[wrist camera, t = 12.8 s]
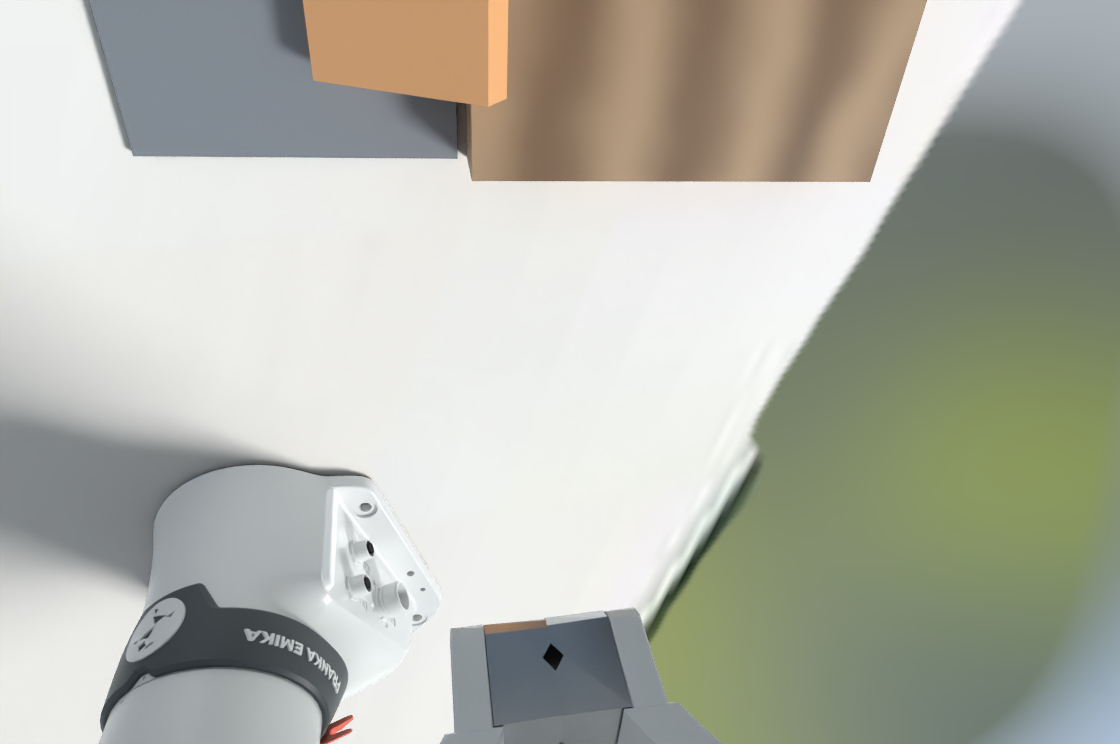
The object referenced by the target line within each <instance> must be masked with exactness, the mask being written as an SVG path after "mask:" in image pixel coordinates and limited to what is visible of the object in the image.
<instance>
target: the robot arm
mask: <svg viewBox="0 0 1120 744" xmlns="http://www.w3.org/2000/svg"><path fill="white" fill-rule="evenodd" d="M362 503H369V504H362ZM442 596H443V593H442V591H441V589H440V587H439V585H438V584H437V582H436V580H435V579H434V577H433V575H432V574H431V572H430V571H429V569H428V567H427V566H426V564H425V563H424V561H423V559H422V558H421V556H420V554H419V553H418V551H417V550H416V548H415V546H414V545H413V543H412V542H411V540H410V538H409V537H408V535H407V533H406V532H405V530H404V529H403V527H402V525H401V524H400V522H399V521H398V519H397V517H396V516H395V514H394V512H393V511H392V509H391V508H390V506H389V504H388V503H387V501H386V500H385V498H384V496H383V495H382V493H381V492H380V490H379V488H378V487H377V485H376V484H375V483H374V482H373V481H372V480H371V479H369V478H366V477H362V476H320V475H315V474H311V473H307V472H303V471H299V470H295V469H291V468H286V467H279V466H270V465H244V466H235V467H229V468H224V469H219V470H215V471H212V472H209V473H206V474H203V475H201V476H198V477H196V478H194V479H192V480H190V481H188V482H187V483H185V484H183V485H182V486H180V487H179V488H178V489H176V490H175V491H174V492H173V493H172V494H171V495H170V496H169V497H168V498H167V499H166V500H165V501H164V503H163V504H162V505H161V507H160V509H159V511H158V513H157V515H156V518H155V521H154V527H153V560H152V569H151V575H150V582H149V587H148V592H147V597H146V602H145V607H144V611H143V614H142V616H141V618H140V620H139V622H138V624H137V625H136V627H135V629H134V631H133V633H132V635H131V637H130V639H129V641H128V643H127V645H126V647H125V650H124V652H123V654H122V657H121V659H120V662H119V665H118V667H117V670H116V673H115V675H114V678H113V681H112V684H111V686H110V689H109V692H108V695H107V698H106V701H105V704H104V707H103V710H102V713H101V719H100V724H101V730H102V732H103V733H102V736H101V739H100V741H99V744H329V743H331V742H333V741H335V740H337V739H339V738H341V737H343V736H345V735H347V734H349V733H351V732H352V729H347V730H344V731H341V732H338V733H336V732H337V731H339V730H341V729H342V728H344V727H345V726H346V725H347V724H348V723H349V722H350V721H352V720H353V716H352V715H350V716H347V717H345V718H342V719H340V720H338V721H336V722H334V723H332V724H330V722H331V720H332V718H333V716H334V714H335V712H336V710H337V708H338V706H339V704H340V702H341V701H343V700H345V699H347V698H348V697H350V696H352V695H354V694H356V693H358V692H360V691H362V690H364V689H366V688H368V687H369V686H371V685H373V684H375V683H376V682H378V681H379V680H381V679H382V678H384V677H385V676H387V675H388V674H389V673H391V672H392V671H393V670H394V669H395V668H396V667H397V666H398V665H399V664H400V663H401V662H402V660H403V659H404V657H405V655H406V654H407V652H408V649H409V646H410V642H411V635H412V633H413V632H414V631H416V630H417V629H418V628H420V627H421V626H422V625H424V624H425V623H426V622H427V621H428V620H429V619H430V618H431V617H432V616H433V615H434V614H435V613H436V612H437V610H438V609H439V607H440V606H441V604H442ZM450 649H451V669H452V690H453V710H454V731H455V733H451V734H446V735H444V737H443V739H442V741H441V743H440V744H721V743H720V742H719V741H718V740H717V739H716V738H715V737H714V736H713V735H712V734H711V733H710V732H708V730H707V729H705V728H704V727H703V726H702V725H701V724H700V723H699V722H698V721H697V720H696V719H695V718H694V717H693V716H692V715H691V714H689V713H688V712H687V711H686V710H685V709H684V708H683V707H682V706H681V705H680V704H679V703H678V702H673V703H668V701H667V697H666V694H665V691H664V688H663V685H662V682H661V679H660V676H659V673H658V670H657V667H656V663H655V660H654V657H653V654H652V651H651V648H650V645H649V642H648V639H647V636H646V633H645V630H644V626H643V623H642V620H641V617H640V614H639V613H638V612H637V610H636V609H635V608H626V609H619V610H611V611H595V612H587V613H580V614H572V615H565V616H557V617H549V618H544V619H540V620H530V621H520V622H510V623H500V624H490V625H483V626H482V625H477V626H468V627H460V628H451V630H450ZM329 724H330V725H329Z"/></svg>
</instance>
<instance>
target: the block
mask: <svg viewBox="0 0 1120 744" xmlns="http://www.w3.org/2000/svg"><path fill="white" fill-rule="evenodd" d="M303 6H304V14H305V22H306V29H307V37H308V45H309V52H310V60H311V67H312V75H313V81H319V82H326V83H332V84H339V85H346V86H352V87H359V88H366V89H372V90H379V91H386V92H392V93H399V94H406V95H412V96H419V97H426V98H432V99H439V100H446V101H452V102H459V103H466V104H472V105H479V106H486V107H489V106H491V105H494V104H496V103H498V102H500V101H502V100H505V99H507V54H508V0H303Z"/></svg>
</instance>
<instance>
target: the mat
mask: <svg viewBox="0 0 1120 744" xmlns="http://www.w3.org/2000/svg"><path fill="white" fill-rule="evenodd" d="M89 2H90V6H91V9H92V13H93V16H94V20H95V23H96V27H97V30H98V34H99V37H100V41H101V44H102V48H103V51H104V55H105V59H106V62H107V66H108V69H109V73H110V76H111V80H112V83H113V87H114V90H115V94H116V97H117V101H118V104H119V108H120V111H121V115H122V118H123V122H124V125H125V129H126V132H127V136H128V139H129V143H130V146H131V150H132V154H133V156H195V157H322V158H449V159H457V116H456V102H452V101H446V100H439V99H432V98H426V97H419V96H412V95H406V94H399V93H392V92H386V91H379V90H372V89H366V88H359V87H352V86H346V85H339V84H332V83H326V82H319V81H313V75H312V67H311V60H310V52H309V45H308V37H307V29H306V22H305V14H304V6H303V0H89Z"/></svg>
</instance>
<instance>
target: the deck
mask: <svg viewBox="0 0 1120 744" xmlns="http://www.w3.org/2000/svg"><path fill="white" fill-rule="evenodd" d="M926 2H927V0H508V54H507V99H505V100H502V101H500V102H498V103H496V104H494V105H491V106H489V107H486V106H479V105H472V104H466V124H467V159H468V164H469V169H470V173H471V178H472V181H769V182H870V180H871V177H872V174H873V170H874V167H875V164H876V161H877V158H878V155H879V151H880V148H881V145H882V142H883V139H884V136H885V132H886V129H887V126H888V123H889V120H890V116H891V113H892V110H893V107H894V104H895V101H896V97H897V94H898V91H899V88H900V85H901V82H902V78H903V75H904V72H905V69H906V66H907V62H908V59H909V56H910V53H911V50H912V47H913V43H914V40H915V37H916V34H917V31H918V28H919V24H920V21H921V18H922V15H923V12H924V9H925V5H926Z"/></svg>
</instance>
